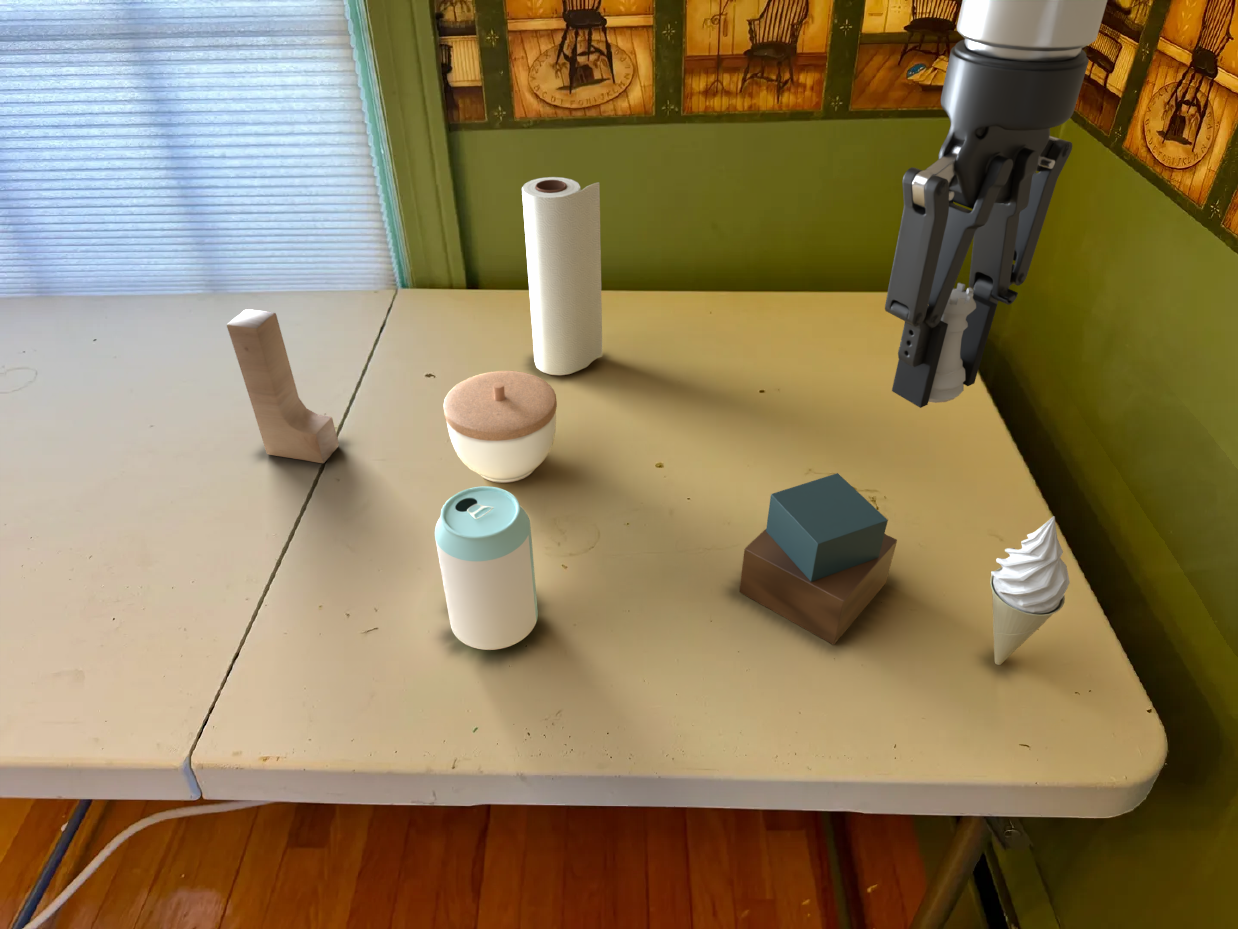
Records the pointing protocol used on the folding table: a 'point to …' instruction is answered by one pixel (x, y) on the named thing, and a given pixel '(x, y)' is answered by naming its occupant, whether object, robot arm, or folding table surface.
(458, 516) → the can
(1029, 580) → the ice cream cone
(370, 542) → the folding table surface
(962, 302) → the rook chess piece
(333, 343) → the folding table surface
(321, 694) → the folding table surface
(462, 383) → the trinket box
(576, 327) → the paper towel roll
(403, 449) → the folding table surface
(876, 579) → the base block
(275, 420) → the wooden block
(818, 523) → the top block
